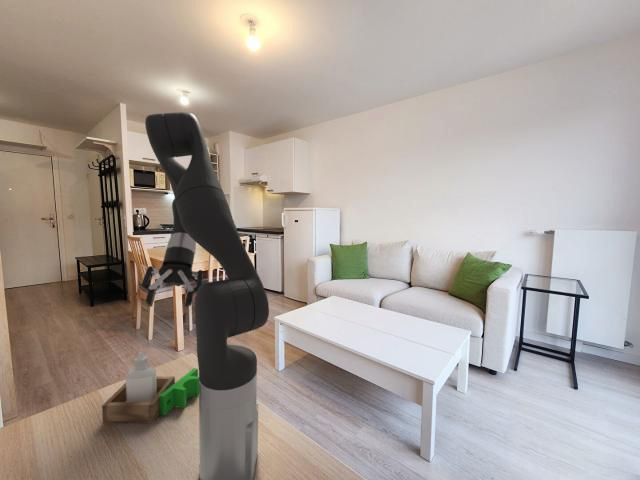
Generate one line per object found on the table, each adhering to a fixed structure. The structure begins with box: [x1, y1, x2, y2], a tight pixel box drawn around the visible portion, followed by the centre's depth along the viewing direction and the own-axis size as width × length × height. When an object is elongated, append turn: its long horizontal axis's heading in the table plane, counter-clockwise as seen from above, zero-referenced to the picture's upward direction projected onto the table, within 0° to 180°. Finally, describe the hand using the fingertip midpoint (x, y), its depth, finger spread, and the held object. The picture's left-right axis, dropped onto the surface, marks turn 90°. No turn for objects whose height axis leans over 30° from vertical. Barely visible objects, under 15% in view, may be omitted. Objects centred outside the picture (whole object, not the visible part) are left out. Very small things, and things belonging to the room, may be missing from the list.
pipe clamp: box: [159, 368, 199, 416], centre depth 65 cm, size 11×4×5 cm, turn 166°
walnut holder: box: [101, 375, 176, 425], centre depth 62 cm, size 10×10×4 cm
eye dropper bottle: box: [125, 351, 157, 402], centre depth 62 cm, size 4×6×12 cm
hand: (168, 306), depth 72 cm, fingers open, 8 cm apart
